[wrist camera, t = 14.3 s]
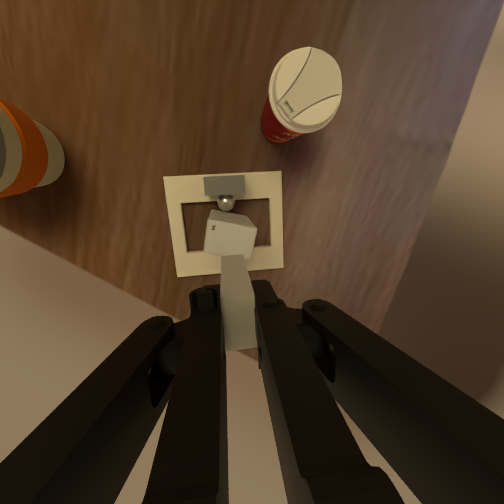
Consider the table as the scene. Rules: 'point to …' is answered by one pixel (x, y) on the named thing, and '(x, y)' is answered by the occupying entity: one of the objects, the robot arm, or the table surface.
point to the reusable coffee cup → (26, 152)
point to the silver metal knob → (226, 202)
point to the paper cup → (301, 94)
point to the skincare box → (229, 234)
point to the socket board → (210, 190)
